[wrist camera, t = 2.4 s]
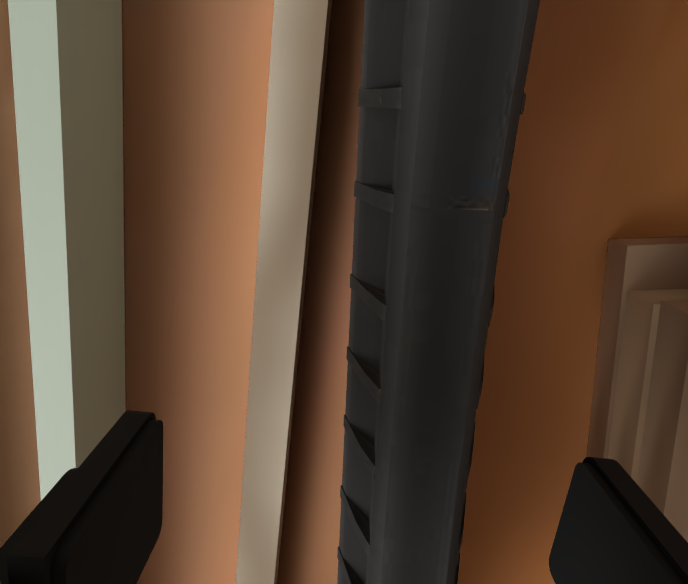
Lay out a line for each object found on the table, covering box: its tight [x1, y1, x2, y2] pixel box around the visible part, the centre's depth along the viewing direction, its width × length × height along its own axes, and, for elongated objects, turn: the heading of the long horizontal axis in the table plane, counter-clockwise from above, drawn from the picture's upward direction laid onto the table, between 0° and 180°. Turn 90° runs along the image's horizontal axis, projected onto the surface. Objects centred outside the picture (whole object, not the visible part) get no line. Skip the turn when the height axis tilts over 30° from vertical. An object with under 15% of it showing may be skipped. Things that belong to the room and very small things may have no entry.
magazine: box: [337, 0, 540, 584], centre depth 13 cm, size 17×3×30 cm
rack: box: [236, 0, 332, 584], centre depth 15 cm, size 21×40×6 cm, turn 174°
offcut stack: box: [587, 236, 688, 542], centre depth 16 cm, size 4×12×4 cm, turn 3°
